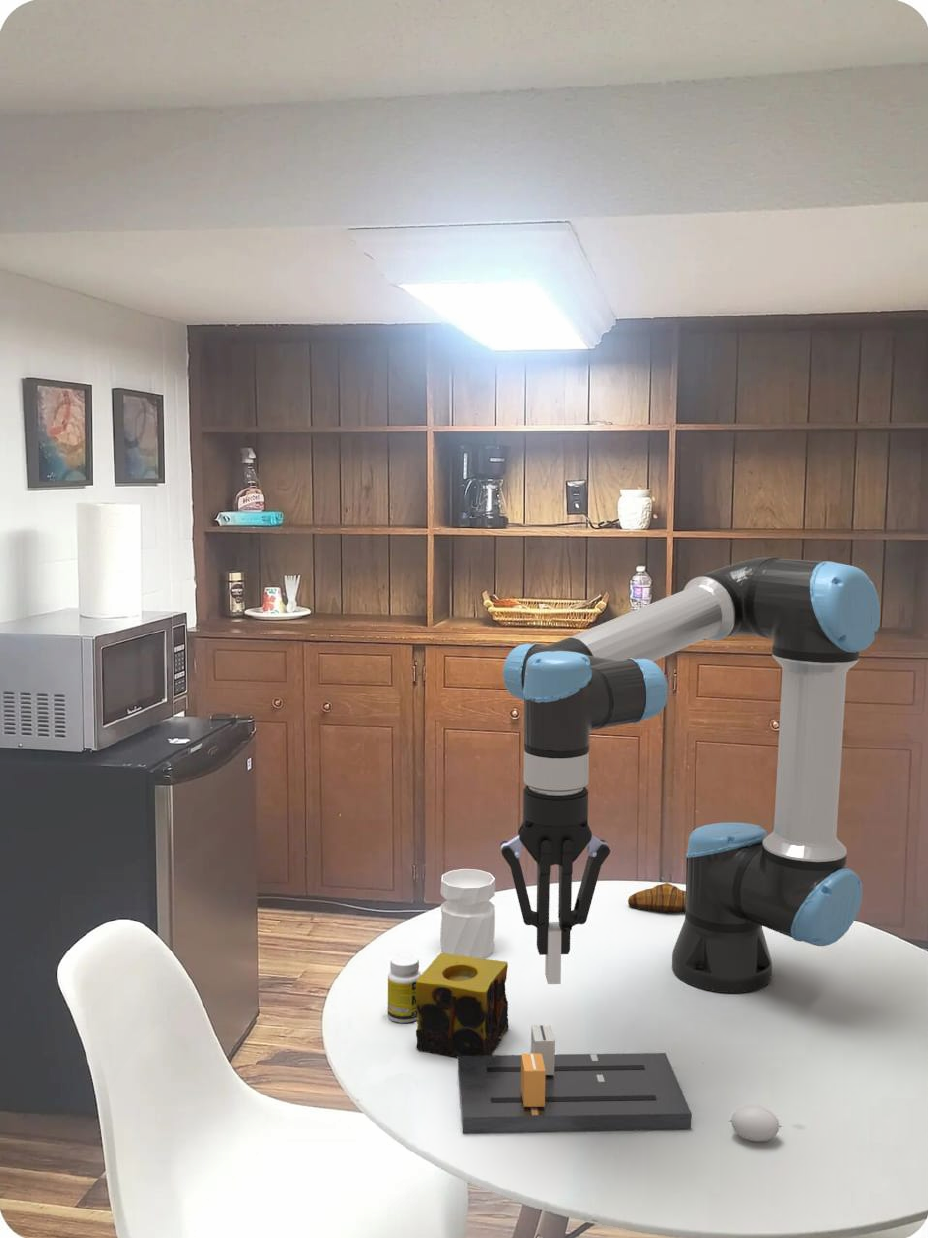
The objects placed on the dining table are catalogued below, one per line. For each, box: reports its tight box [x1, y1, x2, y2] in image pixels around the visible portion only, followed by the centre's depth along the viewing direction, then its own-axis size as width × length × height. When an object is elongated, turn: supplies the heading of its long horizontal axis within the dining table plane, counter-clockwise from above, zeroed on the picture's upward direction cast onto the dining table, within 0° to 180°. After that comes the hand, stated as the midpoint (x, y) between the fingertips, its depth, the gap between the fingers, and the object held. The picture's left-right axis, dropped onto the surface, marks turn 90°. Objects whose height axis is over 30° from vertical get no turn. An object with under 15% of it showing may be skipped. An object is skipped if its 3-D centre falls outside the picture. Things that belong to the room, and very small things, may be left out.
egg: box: [728, 1105, 782, 1143], centre depth 134 cm, size 4×6×4 cm, turn 80°
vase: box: [439, 868, 496, 959], centre depth 184 cm, size 9×9×12 cm
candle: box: [415, 952, 510, 1058], centre depth 155 cm, size 10×10×10 cm
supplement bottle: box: [387, 953, 422, 1024], centre depth 162 cm, size 5×5×8 cm
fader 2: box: [520, 1053, 546, 1107], centre depth 137 cm, size 2×4×5 cm, turn 3°
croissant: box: [627, 882, 686, 914], centre depth 202 cm, size 14×7×5 cm, turn 83°
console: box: [457, 1052, 693, 1134], centre depth 142 cm, size 27×14×2 cm, turn 93°
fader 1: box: [530, 1024, 556, 1075], centre depth 145 cm, size 2×4×5 cm, turn 3°
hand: (552, 978), depth 136 cm, fingers closed
